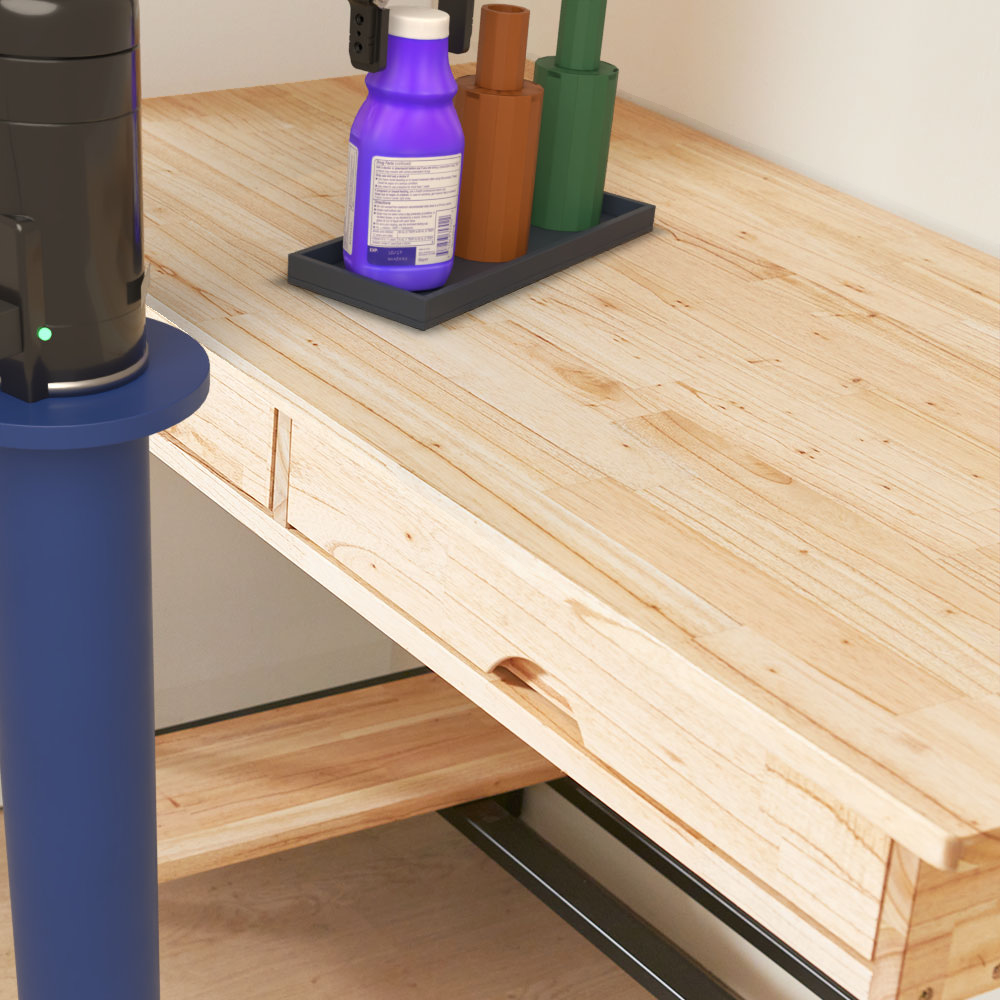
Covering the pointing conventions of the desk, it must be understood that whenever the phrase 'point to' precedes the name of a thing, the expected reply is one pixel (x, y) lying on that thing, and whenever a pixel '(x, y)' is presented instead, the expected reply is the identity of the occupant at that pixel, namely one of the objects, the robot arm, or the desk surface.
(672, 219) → the desk surface
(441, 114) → the bottle
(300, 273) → the tray
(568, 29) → the green bottle
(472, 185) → the amber bottle
